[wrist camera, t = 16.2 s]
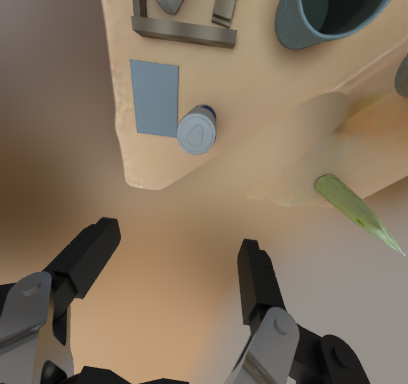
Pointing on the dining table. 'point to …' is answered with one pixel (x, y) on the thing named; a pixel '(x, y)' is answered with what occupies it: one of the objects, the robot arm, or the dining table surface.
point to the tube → (354, 209)
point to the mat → (155, 97)
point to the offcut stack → (223, 12)
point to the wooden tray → (179, 30)
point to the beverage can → (197, 130)
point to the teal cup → (323, 20)
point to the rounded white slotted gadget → (170, 5)
